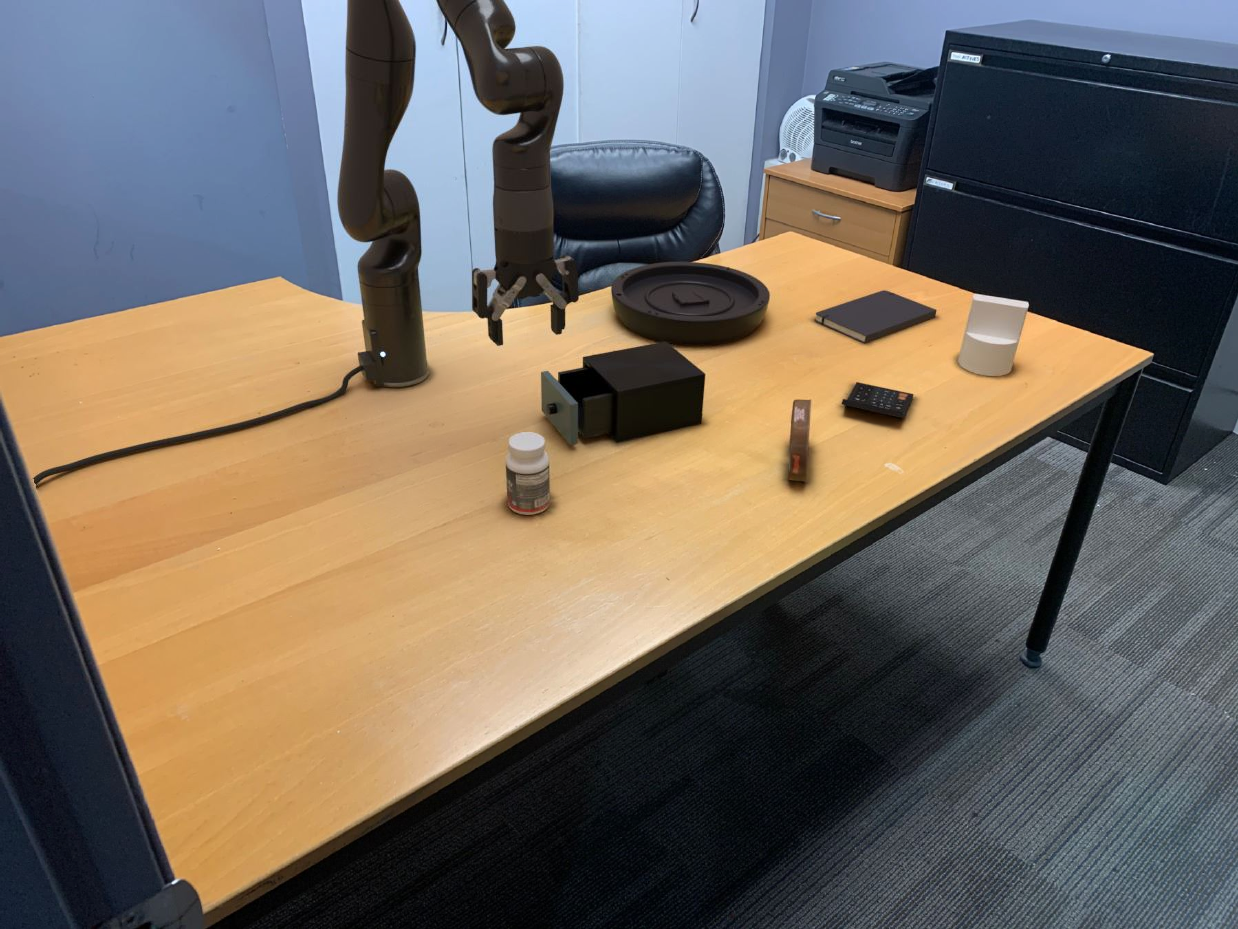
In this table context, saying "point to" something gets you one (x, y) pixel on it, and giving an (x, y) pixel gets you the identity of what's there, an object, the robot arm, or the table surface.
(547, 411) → the drawer
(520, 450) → the pill bottle
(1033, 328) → the table surface
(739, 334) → the round tray
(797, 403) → the tin
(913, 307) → the notebook
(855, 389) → the calculator
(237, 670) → the table surface
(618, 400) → the cabinet
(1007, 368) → the cylinder with rectangular tab
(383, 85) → the robot arm
